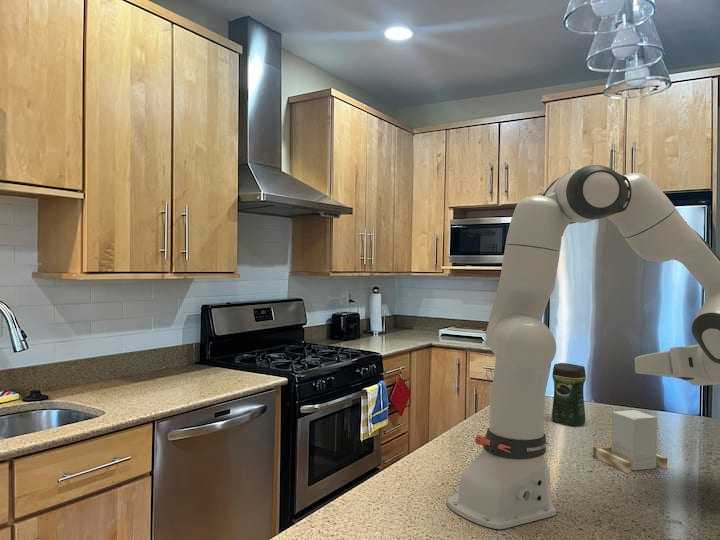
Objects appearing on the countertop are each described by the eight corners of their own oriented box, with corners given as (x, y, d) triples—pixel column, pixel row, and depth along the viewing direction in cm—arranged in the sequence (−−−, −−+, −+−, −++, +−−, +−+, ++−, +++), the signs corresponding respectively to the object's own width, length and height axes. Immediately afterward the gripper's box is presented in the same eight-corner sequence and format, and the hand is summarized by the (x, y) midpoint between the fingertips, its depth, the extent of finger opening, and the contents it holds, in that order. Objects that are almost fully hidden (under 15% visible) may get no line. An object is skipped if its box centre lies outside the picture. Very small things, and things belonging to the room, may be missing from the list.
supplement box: (657, 468, 131) (658, 417, 131) (632, 471, 129) (633, 419, 129) (634, 457, 138) (635, 409, 138) (610, 460, 136) (611, 410, 136)
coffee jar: (588, 423, 168) (590, 364, 168) (577, 428, 163) (578, 367, 163) (559, 416, 175) (560, 360, 175) (547, 421, 170) (548, 363, 170)
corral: (667, 468, 131) (667, 458, 131) (626, 473, 128) (626, 462, 128) (631, 452, 142) (631, 443, 142) (593, 456, 138) (593, 447, 138)
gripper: (719, 354, 124) (659, 360, 135) (672, 346, 113) (612, 353, 124) (724, 382, 122) (663, 386, 133) (677, 376, 112) (615, 380, 123)
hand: (638, 370), depth 129 cm, fingers closed
